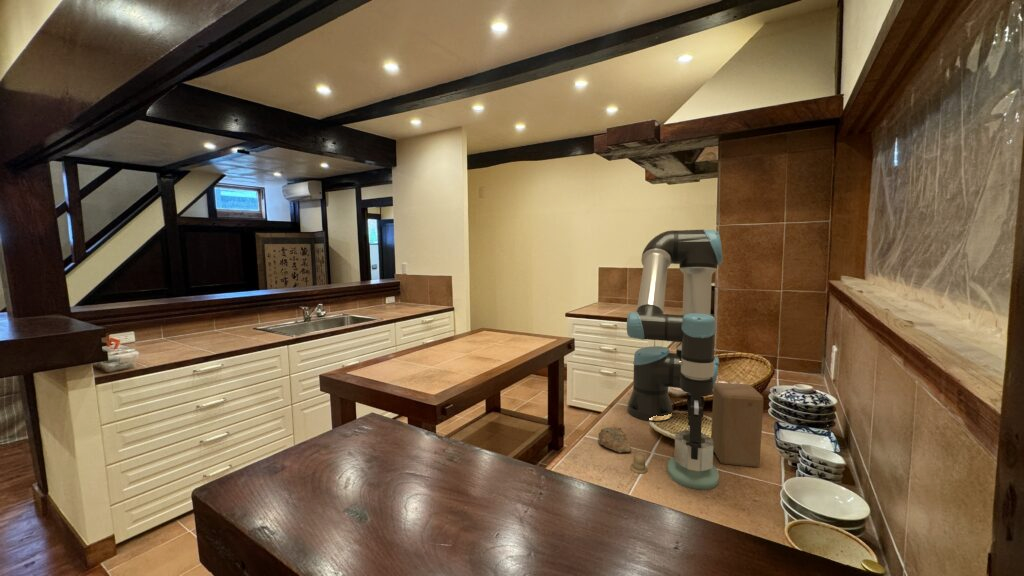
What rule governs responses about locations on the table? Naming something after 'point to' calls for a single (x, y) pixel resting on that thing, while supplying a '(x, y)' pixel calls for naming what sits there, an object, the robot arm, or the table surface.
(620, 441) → the rock
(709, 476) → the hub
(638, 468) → the stand
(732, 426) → the wooden block
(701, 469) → the collar ring
